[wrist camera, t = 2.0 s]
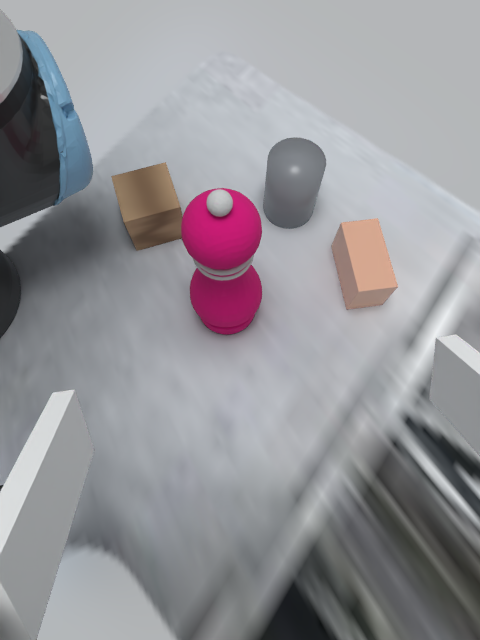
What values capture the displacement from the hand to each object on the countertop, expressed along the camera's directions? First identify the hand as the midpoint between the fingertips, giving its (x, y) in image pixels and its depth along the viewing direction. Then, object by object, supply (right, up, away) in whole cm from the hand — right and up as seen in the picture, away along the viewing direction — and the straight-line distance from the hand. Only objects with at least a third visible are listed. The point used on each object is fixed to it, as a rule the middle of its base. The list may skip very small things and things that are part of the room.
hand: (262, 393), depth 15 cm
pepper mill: (-2, +4, +31) cm, 31 cm away
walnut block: (-11, +14, +35) cm, 39 cm away
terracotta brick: (+12, +8, +32) cm, 35 cm away
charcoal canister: (+5, +16, +35) cm, 39 cm away
